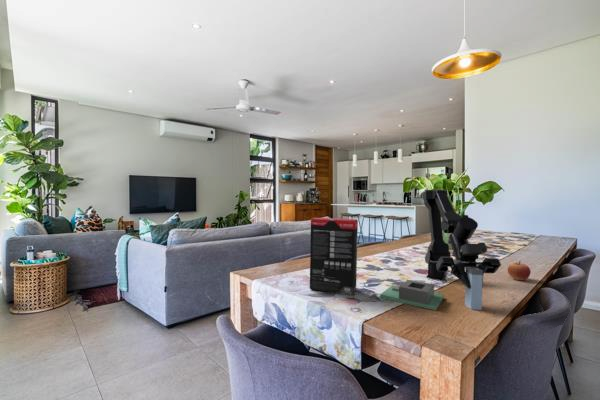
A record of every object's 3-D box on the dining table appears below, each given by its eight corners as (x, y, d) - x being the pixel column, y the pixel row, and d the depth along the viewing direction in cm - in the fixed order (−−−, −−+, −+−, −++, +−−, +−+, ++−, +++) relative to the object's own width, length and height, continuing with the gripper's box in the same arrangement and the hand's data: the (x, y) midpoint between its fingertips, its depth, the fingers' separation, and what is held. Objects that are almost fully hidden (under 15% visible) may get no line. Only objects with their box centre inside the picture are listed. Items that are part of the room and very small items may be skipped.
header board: (380, 297, 101) (380, 283, 101) (392, 288, 112) (392, 274, 111) (435, 310, 91) (436, 293, 90) (443, 298, 101) (443, 283, 101)
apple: (520, 276, 128) (520, 258, 128) (535, 282, 120) (535, 263, 120) (502, 276, 128) (503, 258, 128) (516, 282, 120) (517, 263, 120)
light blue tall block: (471, 309, 91) (471, 270, 91) (464, 304, 96) (465, 266, 95) (481, 310, 91) (482, 270, 91) (475, 304, 95) (476, 267, 95)
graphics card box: (357, 290, 109) (358, 218, 108) (354, 296, 102) (355, 219, 102) (314, 285, 115) (314, 216, 114) (308, 290, 108) (309, 218, 107)
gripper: (439, 233, 98) (452, 274, 87) (498, 234, 96) (519, 276, 85) (431, 251, 106) (442, 291, 95) (485, 252, 104) (502, 294, 93)
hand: (475, 288), depth 92 cm, fingers closed on light blue tall block, 3 cm apart
